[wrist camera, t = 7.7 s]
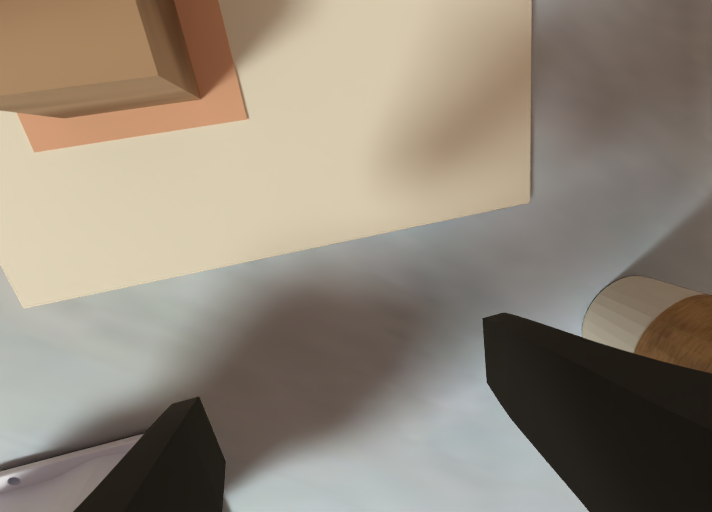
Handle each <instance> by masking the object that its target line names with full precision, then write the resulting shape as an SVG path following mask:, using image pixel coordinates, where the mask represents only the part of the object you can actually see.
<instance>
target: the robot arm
mask: <svg viewBox="0 0 712 512" xmlns="http://www.w3.org/2000/svg"><path fill="white" fill-rule="evenodd" d="M483 333H484V348H485V362H486V377H487V383H488V385H489V387H490V388H491V390H492V391H493V393H494V394H495V396H496V398H497V399H498V401H499V402H500V404H501V405H502V407H503V408H504V410H505V411H506V412H507V414H508V415H509V417H510V418H511V419H512V421H513V422H514V423H515V424H516V425H517V427H518V428H519V429H520V430H521V431H522V433H523V434H524V435H525V436H526V437H527V439H528V440H529V441H530V442H531V443H532V444H533V446H534V447H535V448H536V449H537V450H538V452H539V453H540V454H541V455H542V456H543V457H544V459H545V460H546V461H547V462H548V463H549V464H550V466H551V467H552V468H553V469H554V470H555V471H556V473H557V474H558V475H559V476H560V477H561V478H562V480H563V481H564V482H565V483H566V484H567V486H568V487H569V488H570V489H571V490H572V491H573V493H574V494H575V495H576V496H577V497H578V498H579V500H580V501H581V502H582V503H583V504H584V506H585V507H586V508H587V509H588V511H589V512H712V373H708V372H704V371H699V370H695V369H691V368H686V367H682V366H678V365H675V364H671V363H667V362H663V361H659V360H656V359H652V358H649V357H645V356H642V355H638V354H635V353H631V352H628V351H624V350H621V349H617V348H614V347H611V346H608V345H604V344H601V343H598V342H595V341H592V340H589V339H586V338H583V337H580V336H577V335H574V334H571V333H568V332H565V331H562V330H559V329H556V328H553V327H550V326H547V325H544V324H541V323H538V322H535V321H532V320H529V319H525V318H522V317H519V316H516V315H512V314H508V313H500V314H497V315H493V316H489V317H486V318H483ZM225 462H226V461H225V459H224V456H223V454H222V452H221V449H220V447H219V444H218V442H217V439H216V437H215V434H214V432H213V430H212V427H211V425H210V422H209V420H208V417H207V415H206V412H205V410H204V408H203V405H202V403H201V400H200V398H199V397H196V398H192V399H189V400H185V401H181V402H178V403H174V404H172V405H171V406H170V407H169V408H168V409H167V410H166V411H165V412H164V413H163V414H162V415H161V416H160V417H159V418H158V419H157V420H156V421H155V422H154V424H153V425H152V426H151V427H150V428H149V429H148V430H147V431H146V432H145V433H144V434H141V435H137V436H133V437H129V438H125V439H122V440H118V441H114V442H110V443H106V444H103V445H99V446H95V447H91V448H87V449H84V450H80V451H76V452H72V453H69V454H65V455H61V456H57V457H53V458H50V459H46V460H42V461H38V462H34V463H31V464H27V465H23V466H19V467H15V468H12V469H8V470H4V471H0V512H222V505H223V493H224V479H225Z"/></svg>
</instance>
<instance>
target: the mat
mask: <svg viewBox="0 0 712 512" xmlns="http://www.w3.org/2000/svg"><path fill="white" fill-rule="evenodd" d="M174 2H175V6H176V10H177V13H178V17H179V20H180V24H181V28H182V31H183V35H184V39H185V42H186V46H187V50H188V53H189V57H190V61H191V64H192V68H193V71H194V75H195V79H196V82H197V86H198V90H199V93H200V97H201V100H193V101H186V102H179V103H172V104H165V105H158V106H150V107H143V108H136V109H129V110H122V111H114V112H107V113H100V114H93V115H86V116H79V117H71V118H56V117H48V116H40V115H32V114H24V113H16V112H8V111H0V265H1V267H2V269H3V271H4V273H5V275H6V276H7V278H8V280H9V282H10V284H11V286H12V288H13V290H14V292H15V293H16V295H17V297H18V299H19V301H20V303H21V305H22V307H23V309H24V308H29V307H34V306H38V305H43V304H48V303H53V302H58V301H62V300H67V299H72V298H77V297H82V296H86V295H91V294H96V293H101V292H105V291H110V290H115V289H120V288H125V287H129V286H134V285H139V284H144V283H148V282H153V281H158V280H163V279H168V278H172V277H177V276H182V275H187V274H192V273H196V272H201V271H206V270H211V269H215V268H220V267H225V266H230V265H235V264H239V263H244V262H249V261H254V260H258V259H263V258H268V257H273V256H278V255H282V254H287V253H292V252H297V251H302V250H306V249H311V248H316V247H321V246H325V245H330V244H335V243H340V242H345V241H349V240H354V239H359V238H364V237H369V236H373V235H378V234H383V233H388V232H392V231H397V230H402V229H407V228H412V227H416V226H421V225H426V224H431V223H435V222H440V221H445V220H450V219H455V218H459V217H464V216H469V215H474V214H479V213H483V212H488V211H493V210H498V209H502V208H507V207H512V206H517V205H522V204H526V203H530V143H531V14H532V0H174Z"/></svg>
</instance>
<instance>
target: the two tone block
mask: <svg viewBox="0 0 712 512" xmlns="http://www.w3.org/2000/svg"><path fill="white" fill-rule="evenodd" d="M193 100H201V97H200V93H199V90H198V86H197V82H196V79H195V75H194V71H193V68H192V64H191V61H190V57H189V53H188V50H187V46H186V42H185V39H184V35H183V31H182V28H181V24H180V20H179V17H178V13H177V10H176V6H175V2H174V0H0V111H8V112H16V113H24V114H32V115H40V116H48V117H56V118H71V117H79V116H86V115H93V114H100V113H107V112H114V111H122V110H129V109H136V108H143V107H150V106H158V105H165V104H172V103H179V102H186V101H193Z"/></svg>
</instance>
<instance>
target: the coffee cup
mask: <svg viewBox="0 0 712 512" xmlns="http://www.w3.org/2000/svg"><path fill="white" fill-rule="evenodd" d="M582 336H583V338H586V339H589V340H592V341H595V342H598V343H601V344H604V345H608V346H611V347H614V348H617V349H621V350H624V351H628V352H631V353H635V354H638V355H642V356H645V357H649V358H652V359H656V360H659V361H663V362H667V363H671V364H675V365H678V366H682V367H686V368H691V369H695V370H699V371H704V372H708V373H712V295H707V294H704V293H700V292H697V291H693V290H690V289H686V288H683V287H679V286H676V285H672V284H669V283H666V282H662V281H658V280H655V279H651V278H647V277H642V276H629V277H626V278H622V279H620V280H618V281H615V282H613V283H612V284H610V285H609V286H607V287H606V288H605V289H604V290H603V291H602V292H600V293H599V294H598V296H597V297H596V298H595V299H594V300H593V302H592V303H591V305H590V307H589V308H588V310H587V313H586V315H585V317H584V321H583V325H582Z"/></svg>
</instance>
